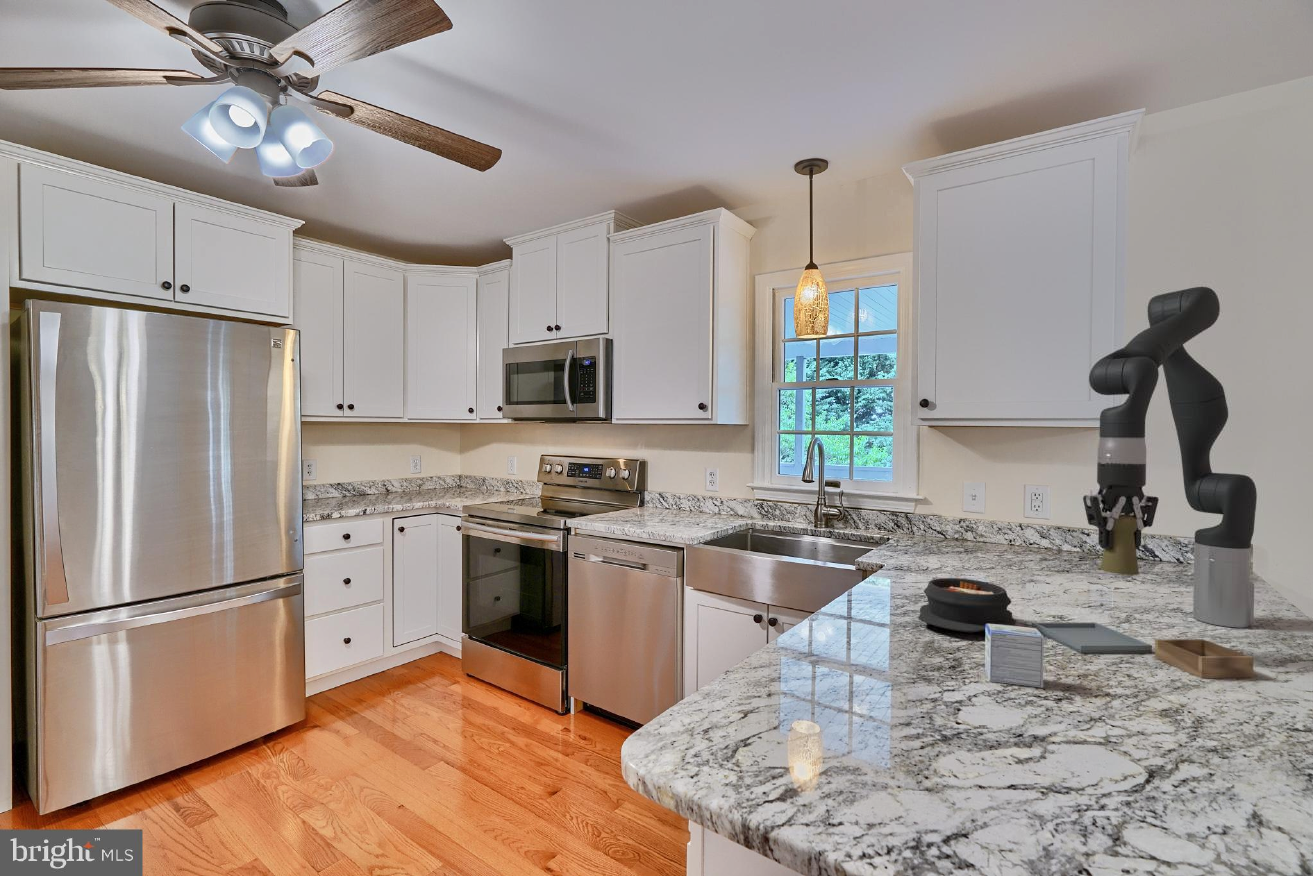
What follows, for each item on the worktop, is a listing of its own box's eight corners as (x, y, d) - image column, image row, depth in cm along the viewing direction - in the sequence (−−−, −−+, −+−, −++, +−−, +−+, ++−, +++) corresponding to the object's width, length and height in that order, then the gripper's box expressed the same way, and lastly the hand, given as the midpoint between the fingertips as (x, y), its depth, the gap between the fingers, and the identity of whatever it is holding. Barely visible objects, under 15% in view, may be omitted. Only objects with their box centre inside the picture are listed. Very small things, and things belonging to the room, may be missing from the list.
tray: (1095, 629, 129) (1095, 622, 129) (1151, 653, 115) (1152, 645, 115) (1031, 629, 128) (1031, 622, 128) (1080, 653, 114) (1080, 645, 114)
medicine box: (1036, 678, 102) (1037, 627, 102) (1043, 689, 98) (1044, 636, 98) (984, 672, 105) (984, 622, 105) (989, 682, 101) (989, 630, 100)
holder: (1202, 657, 113) (1202, 639, 113) (1252, 677, 104) (1253, 657, 104) (1154, 658, 112) (1155, 639, 112) (1201, 678, 103) (1201, 657, 103)
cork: (1146, 575, 114) (1148, 517, 114) (1110, 573, 115) (1112, 516, 115) (1127, 568, 120) (1128, 513, 120) (1093, 566, 121) (1095, 512, 121)
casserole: (947, 604, 147) (948, 570, 147) (1033, 623, 133) (1034, 585, 133) (896, 624, 131) (897, 586, 131) (988, 648, 117) (989, 605, 116)
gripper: (1139, 460, 122) (1137, 545, 122) (1071, 459, 121) (1070, 545, 121) (1173, 462, 114) (1171, 552, 114) (1102, 461, 113) (1100, 552, 113)
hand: (1119, 548), depth 117 cm, fingers closed on cork, 5 cm apart
